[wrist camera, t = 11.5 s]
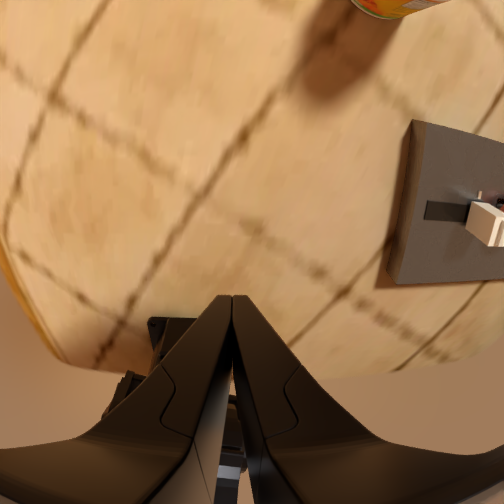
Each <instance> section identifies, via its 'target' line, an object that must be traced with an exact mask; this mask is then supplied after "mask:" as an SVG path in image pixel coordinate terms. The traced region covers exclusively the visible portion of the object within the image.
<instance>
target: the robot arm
mask: <svg viewBox="0 0 504 504" xmlns="http://www.w3.org/2000/svg"><path fill="white" fill-rule="evenodd" d="M152 322H154V323H156V324H153V323H152ZM147 325H148V329H149V334H150V338H151V343H152V347H153V351H154V354H153V358H152V362H151V365H150V369H149V373H148V376H143V375H139V374H135V372H133V371H129V370H127V373H126V375H125V377H124V378H123V377H122V379H121V382H120V383H118V385H117V388H116V391H115V394H114V397H113V399H112V401H111V403H110V404H109V406H108V407H107V408H106V410H105V411H104V413H103V414H102V418H101V420H100V421H99V422H98V423H97V424H96V425H95V426H93V427H92V428H91V429H90V430H88V431H87V432H85V433H84V434H82V435H80V436H78V437H76V438H73V439H69V440H64V441H59V442H53V443H47V444H40V445H33V446H26V447H17V448H9V449H0V504H237V496H238V484H239V479H240V473H244V472H245V471H246V469H247V467H248V471H249V477H250V482H251V488H252V493H253V499H254V504H504V445H501V446H499V447H497V448H495V449H494V450H491V451H488V452H486V453H482V454H476V455H458V454H450V453H444V452H436V451H431V450H425V449H419V448H414V447H409V446H404V445H399V444H394V443H391V442H388V441H385V440H383V439H381V438H379V437H378V436H376V435H375V434H373V433H371V432H370V431H369V430H368V429H367V428H366V427H364V426H363V425H362V424H361V423H360V422H359V421H358V420H357V419H355V418H354V417H353V416H352V415H351V414H350V413H349V412H348V411H346V410H345V409H344V408H343V407H342V406H341V405H340V404H339V403H337V402H336V401H335V400H334V399H333V398H332V397H331V396H330V395H329V394H328V393H327V392H326V391H325V390H324V389H323V388H322V387H321V386H320V385H319V384H318V383H317V381H316V380H315V379H314V378H313V377H312V376H311V375H310V373H309V372H308V371H307V370H306V368H305V367H304V366H303V365H302V364H301V362H300V361H299V360H298V359H297V357H296V356H295V355H294V354H293V352H292V351H291V350H290V349H289V347H288V346H287V345H286V344H285V343H284V341H283V340H282V339H281V337H280V336H279V335H278V334H277V332H276V331H275V330H274V329H273V327H272V326H271V325H270V324H269V322H268V321H267V320H266V319H265V317H264V316H263V315H262V314H261V312H260V311H259V310H258V308H257V307H256V306H255V305H254V303H253V302H252V301H251V299H250V298H249V297H248V296H247V295H234V296H233V297H232V296H231V295H217V296H216V297H215V298H214V300H213V301H212V302H211V303H210V304H209V305H208V307H207V308H206V309H205V310H204V311H203V312H202V314H201V315H200V316H199V317H198V318H169V317H150V318H149V319H148V322H147ZM232 360H233V376H234V383H235V390H236V396H235V395H229V389H230V383H231V375H232Z"/></svg>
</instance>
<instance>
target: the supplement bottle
mask: <svg viewBox="0 0 504 504" xmlns="http://www.w3.org/2000/svg"><path fill="white" fill-rule="evenodd" d="M351 1H352V2H353V3H354V4H355V5H356V6H357V7H358V8H359V9H361V10H362V11H364V12H365V13H367V14H369V15H371V16H374V17H377V18H381V19H397V18H401V17H404V16H406V15H409V14H412V13H414V12H417V11H420V10H423V9H426V8H428V7H431V6H434V5H437V4H440V3H444V2H447V1H450V0H351Z"/></svg>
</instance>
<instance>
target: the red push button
mask: <svg viewBox="0 0 504 504" xmlns="http://www.w3.org/2000/svg"><path fill="white" fill-rule="evenodd" d="M496 208H497V209H499V210H500V211H502V212H503V213H504V205H503V204H501V203H499V202H497V204H496Z"/></svg>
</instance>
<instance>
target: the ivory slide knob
mask: <svg viewBox="0 0 504 504" xmlns="http://www.w3.org/2000/svg"><path fill="white" fill-rule="evenodd" d="M465 229H466V230H468V231H469V232H470V233H472V234H473V235H474V236H475V237H477V238H478V239H479V240H481V241H482V242H483V243H484V244H486V245H487V246H498V247H504V213H503V212H502V211H500V210H499V209H497V208H495V207H494V206H492V205H490V204H489V203H482V202H474V201H472V202H471V207H470V211H469V215H468V219H467V223H466V227H465Z"/></svg>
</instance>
